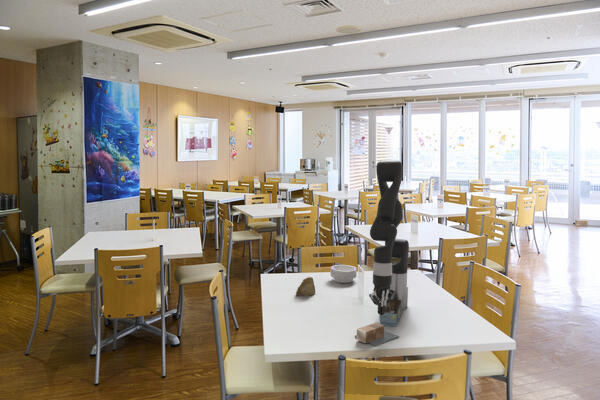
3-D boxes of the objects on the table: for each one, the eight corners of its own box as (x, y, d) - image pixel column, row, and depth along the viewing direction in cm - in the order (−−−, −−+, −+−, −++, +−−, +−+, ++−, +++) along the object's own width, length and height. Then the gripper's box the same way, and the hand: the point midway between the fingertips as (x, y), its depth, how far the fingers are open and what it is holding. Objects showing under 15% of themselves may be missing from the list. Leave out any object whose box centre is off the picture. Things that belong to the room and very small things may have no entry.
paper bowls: (357, 284, 258) (358, 271, 258) (331, 284, 259) (331, 270, 258) (355, 277, 274) (355, 264, 273) (329, 277, 274) (329, 264, 273)
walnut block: (375, 322, 187) (356, 328, 180) (384, 325, 183) (365, 332, 177) (375, 333, 187) (356, 339, 181) (383, 336, 184) (364, 343, 177)
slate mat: (378, 329, 193) (378, 327, 193) (398, 337, 185) (398, 335, 185) (354, 337, 185) (354, 335, 185) (375, 346, 176) (375, 344, 176)
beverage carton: (378, 325, 199) (378, 310, 198) (384, 310, 217) (385, 297, 216) (397, 327, 196) (397, 312, 195) (401, 312, 214) (402, 299, 214)
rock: (293, 293, 234) (312, 292, 232) (293, 277, 238) (312, 276, 237) (298, 300, 243) (316, 299, 241) (298, 285, 247) (316, 283, 246)
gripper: (378, 277, 176) (377, 320, 178) (400, 272, 184) (399, 313, 186) (364, 273, 182) (363, 315, 184) (386, 268, 190) (385, 308, 192)
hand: (381, 314), depth 185 cm, fingers closed
